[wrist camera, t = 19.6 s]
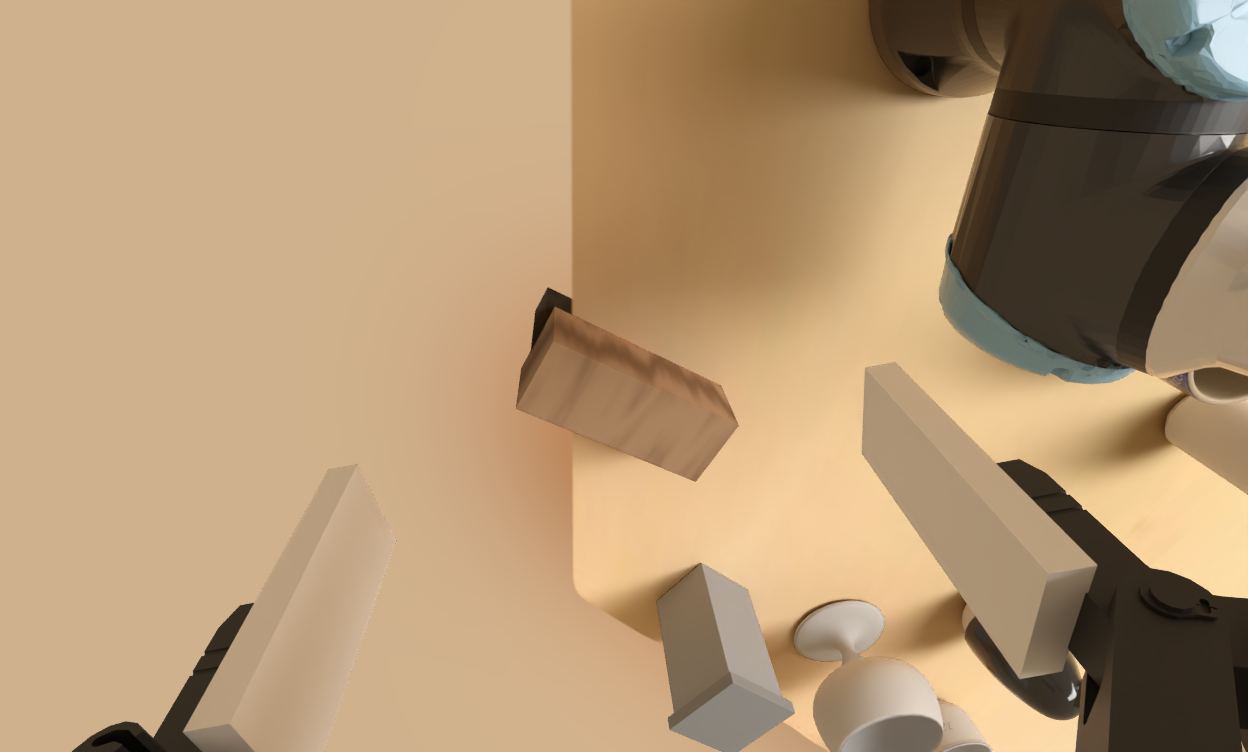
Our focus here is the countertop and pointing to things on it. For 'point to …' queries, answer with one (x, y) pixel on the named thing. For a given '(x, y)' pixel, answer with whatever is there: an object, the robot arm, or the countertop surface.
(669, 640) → the stand
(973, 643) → the pump dispenser
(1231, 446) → the can
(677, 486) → the countertop surface
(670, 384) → the walnut handle block
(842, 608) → the chalice
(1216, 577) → the countertop surface
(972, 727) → the teacup
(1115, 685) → the robot arm
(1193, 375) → the planter
